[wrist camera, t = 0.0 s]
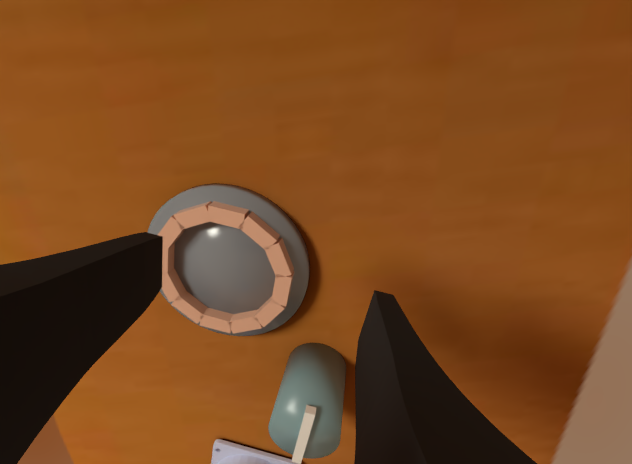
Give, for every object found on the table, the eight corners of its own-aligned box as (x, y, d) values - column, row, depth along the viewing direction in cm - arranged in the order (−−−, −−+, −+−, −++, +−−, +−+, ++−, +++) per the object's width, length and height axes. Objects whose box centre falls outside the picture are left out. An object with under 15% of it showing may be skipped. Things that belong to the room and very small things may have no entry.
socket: (294, 344, 25) (289, 360, 24) (152, 307, 26) (139, 320, 24) (325, 207, 21) (322, 216, 19) (152, 165, 21) (136, 171, 20)
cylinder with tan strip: (338, 395, 27) (330, 472, 21) (283, 380, 27) (262, 453, 22) (353, 350, 25) (347, 424, 20) (293, 335, 25) (272, 403, 20)
